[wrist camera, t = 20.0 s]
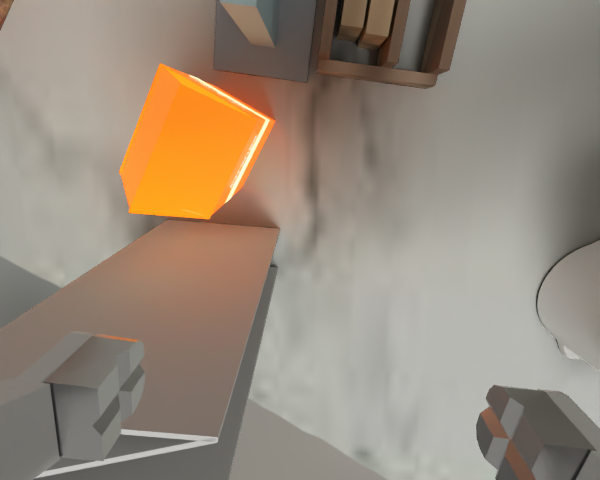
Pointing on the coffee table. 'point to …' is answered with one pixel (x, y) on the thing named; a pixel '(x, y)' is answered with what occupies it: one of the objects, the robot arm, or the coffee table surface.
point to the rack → (399, 47)
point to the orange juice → (190, 147)
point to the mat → (267, 60)
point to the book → (4, 10)
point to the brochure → (166, 344)
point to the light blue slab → (255, 19)
